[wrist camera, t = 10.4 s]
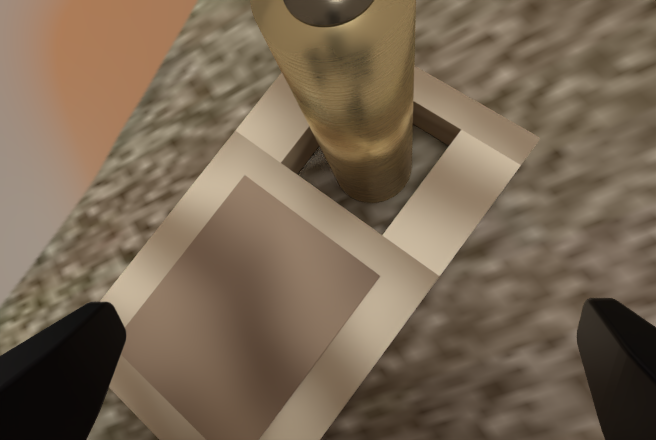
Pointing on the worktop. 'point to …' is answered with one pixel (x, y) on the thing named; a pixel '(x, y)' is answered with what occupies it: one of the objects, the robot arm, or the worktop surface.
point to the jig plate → (293, 274)
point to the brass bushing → (350, 83)
